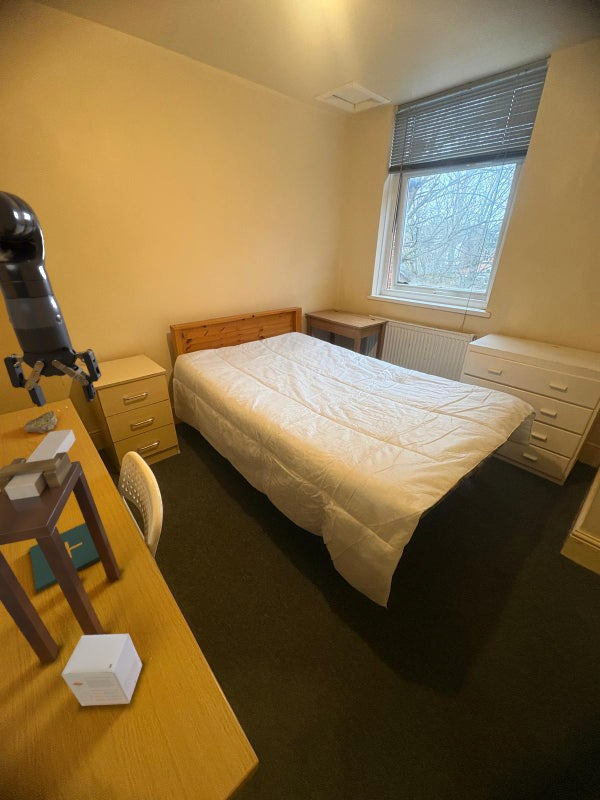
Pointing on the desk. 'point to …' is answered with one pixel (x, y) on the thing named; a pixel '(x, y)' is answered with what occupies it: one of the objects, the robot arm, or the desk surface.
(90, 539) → the board
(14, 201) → the robot arm
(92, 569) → the desk surface
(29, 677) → the desk surface
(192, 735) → the desk surface
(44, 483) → the stone bar
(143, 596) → the desk surface
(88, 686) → the small box
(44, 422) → the rock
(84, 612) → the stand
